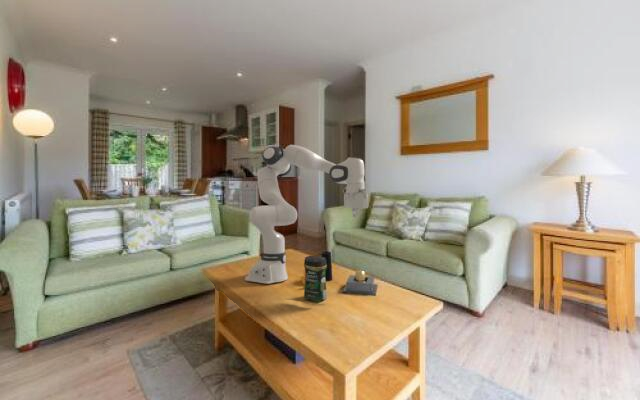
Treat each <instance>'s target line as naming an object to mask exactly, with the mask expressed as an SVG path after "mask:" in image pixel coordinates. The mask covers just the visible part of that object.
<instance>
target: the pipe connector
mask: <svg viewBox="0 0 640 400" xmlns="http://www.w3.org/2000/svg"><path fill="white" fill-rule="evenodd" d="M321 257H325V258H326V263H327V267H326V272H325V278H326V282H331V281H333V266H332V264H333V263H332V252H331V251H326V250H325V251H322V252H321Z"/></svg>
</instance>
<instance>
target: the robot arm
mask: <svg viewBox="0 0 640 400" xmlns="http://www.w3.org/2000/svg"><path fill="white" fill-rule="evenodd" d="M261 159H262V160H263V162H264V163H265V164H266V166H264V167H263V166H262V167H261V168H259V169H258V171H257V186H258V188H257V189H258V192H259V198H260V199H261V201H263V203H265V204H268V205H258V206H254V207H252V208H251V210H249V211H250V212H249V215H248V217H249V219H248V220H249V221H250V223H251V225H253V227H255V228H256V229H258V231H259V232H260V234H261V236H262V243H263V251H262V252H261V253H259V257H260V259H259V260H258V261H257V262H255V263H254V264H253V265H252V266H251V267H250V270H249V274H248V275H246V276H245V277H244V280H245V281H247V282H255V283H261V284H266V285H267V284H273V283H280V282H284V281H286V280H288V279H289V276H288V272H287V267H286V260H287V256H286V254H287V253H286V251H285V249H286V248H285V247H286V245H285V244H286V241H285V240H286V239H285V237H284V235H283V234H281V233H280V232H277V231H276V230H275V227H280V226H281V227H282V226H283V227H284V226H289V225H292V224H295V223H296V221H297V219H298V211H297V208H295V206H293V205H291V204H290V203H288V202H287V201H286V199H284V197H283V196H282V193H281V190H280V187H279V182H278V178H279V179H281V178H282V177H285V176H287V175H288V174H290V172H291V171H292V165H294V166H296V167H298V168H300V169H304V170H308V171H309V170H310V171H320V172H324V173H326V174H328V176H329V180H331V182H333V183H336V184H341V185H346V186H345V188H344V189H343V190H342V192H343V205H344V208H347V209H348V208H350V209H351V212H352V217H353V218H359V217H360V212H361V209H366V210H367V209H368V208H369V205H370V204H369V196H368V193H367V191H366V189H365V188H366V187H365V184H366V183H365V171H366V170H365V163H364V160H363V159H362V158H360V157H354V156H350V157H347V159H346V160H344V161H342V162H340V163H338V164H337V163H334V162H332V161H329V160H326V159H325V158H324V157H321V156H320V155H319V154H317V153H315V152H313V151H312V150H310V149H308V148H307V147H304V146H301V145H296V144H289V145H287V146H286V147H285V149H283V147H281V146H274V145H273V146H268V147H266V148H265V149H264V150H263V152H262V154H261Z"/></svg>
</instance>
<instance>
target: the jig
mask: <svg viewBox="0 0 640 400" xmlns="http://www.w3.org/2000/svg"><path fill="white" fill-rule="evenodd" d="M377 290H378V284H377V283H375V276H372V275H371V276H370V275H369V276H368V275H365V281H356V274H355V275H354V274H353V275H352V274H350V275H349V276H348V278H347V280H346V283H345V286H344V288H343V289H342V293H344V294H354V295H355V294H356V295H365V296H376V295H377V292H378V291H377Z"/></svg>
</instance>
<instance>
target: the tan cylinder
mask: <svg viewBox="0 0 640 400" xmlns="http://www.w3.org/2000/svg"><path fill="white" fill-rule="evenodd" d="M355 275H356V281H365V276H366V271H365V270H363V269H358V270H355Z"/></svg>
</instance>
